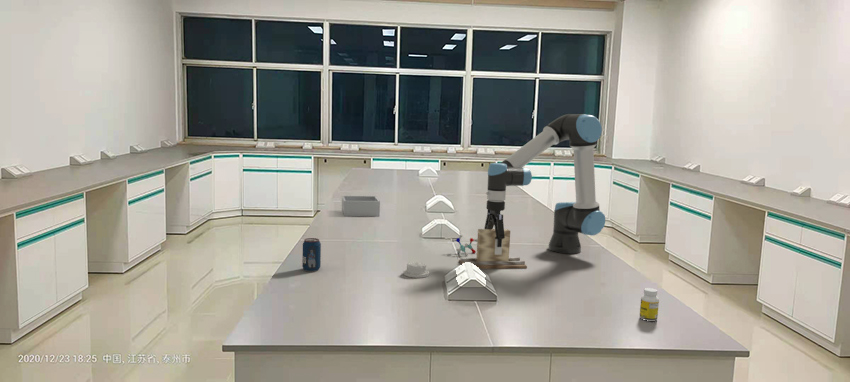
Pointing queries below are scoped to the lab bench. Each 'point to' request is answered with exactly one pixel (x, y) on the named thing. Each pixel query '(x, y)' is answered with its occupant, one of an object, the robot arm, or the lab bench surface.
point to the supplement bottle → (649, 305)
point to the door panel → (491, 246)
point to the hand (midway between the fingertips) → (493, 250)
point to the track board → (496, 263)
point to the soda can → (311, 254)
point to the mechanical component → (416, 270)
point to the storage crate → (360, 206)
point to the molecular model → (465, 245)
